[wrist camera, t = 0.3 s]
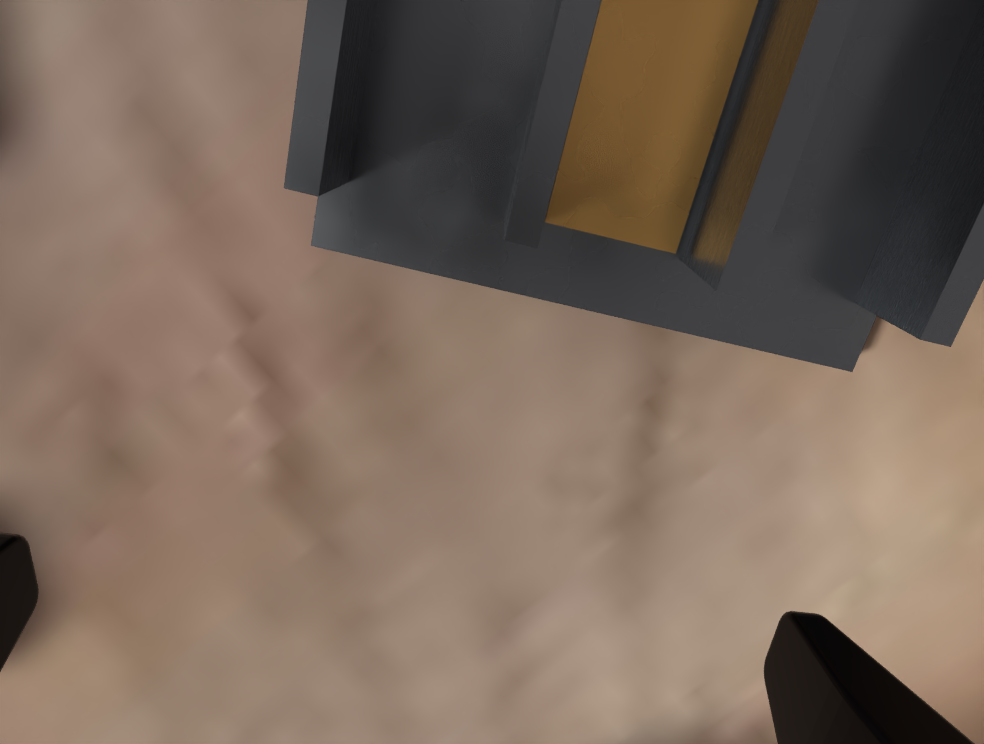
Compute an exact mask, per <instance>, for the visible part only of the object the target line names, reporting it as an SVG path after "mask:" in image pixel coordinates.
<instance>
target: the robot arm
mask: <svg viewBox="0 0 984 744" xmlns="http://www.w3.org/2000/svg"><path fill="white" fill-rule="evenodd" d="M37 599H38V584H37V579H36V574H35V570H34V565H33V561H32V556H31V552H30V547H29V544H28V542H27V540H26V539H25V538H24V537H23V536H20V535H17V534H8V533H0V672H1V670H2V668H3V666H4V664H5V662H6V660H7V659H8V657H9V655H10V653H11V651H12V649H13V648H14V646H15V644H16V642H17V640H18V638H19V637H20V635H21V633H22V631H23V629H24V627H25V626H26V624H27V622H28V620H29V618H30V616H31V615H32V613H33V611H34V609H35V606H36V603H37ZM764 679H765V685H766V690H767V694H768V699H769V704H770V709H771V714H772V718H773V723H774V728H775V733H776V738H777V742H778V744H974V743H973V742H972V741H971V740H970V739H968V738H967V737H966V736H965V735H964V734H962V733H961V732H960V731H959V730H958V729H957V728H955V727H954V726H953V725H952V724H951V723H949V722H948V721H947V720H946V719H945V718H943V717H942V716H941V715H940V714H939V713H938V712H936V711H935V710H934V709H933V708H932V707H930V706H929V705H928V704H927V703H926V702H925V701H923V700H922V699H921V698H920V697H919V696H917V695H916V694H915V693H914V692H913V691H911V690H910V689H909V688H908V687H907V686H906V685H904V684H903V683H902V682H901V681H900V680H898V679H897V678H896V677H895V676H894V675H892V674H891V673H890V672H889V671H888V670H887V669H885V668H884V667H883V666H882V665H881V664H879V663H878V662H877V661H876V660H875V659H874V658H872V657H871V656H870V655H869V654H868V653H866V652H865V651H864V650H863V649H862V648H860V647H859V646H858V645H857V644H856V643H855V642H853V641H852V640H851V639H850V638H849V637H847V636H846V635H845V634H844V633H843V632H841V631H840V630H839V629H838V628H837V627H836V626H834V625H833V624H832V623H831V622H830V621H828V620H827V619H826V618H825V617H823V616H821V615H819V614H815V613H805V612H795V611H790V612H786V613H785V614H784V615H783V616H782V617H781V619H780V621H779V623H778V626H777V629H776V632H775V634H774V637H773V640H772V642H771V645H770V648H769V651H768V653H767V656H766V659H765V664H764Z"/></svg>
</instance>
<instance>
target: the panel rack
mask: <svg viewBox="0 0 984 744" xmlns="http://www.w3.org/2000/svg"><path fill="white" fill-rule="evenodd" d="M284 188H285V189H289V190H293V191H298V192H302V193H306V194H310V195H314V196H318V200H317V207H316V214H315V221H314V228H313V235H312V242H311V246H315V247H319V248H323V249H328V250H332V251H336V252H340V253H345V254H349V255H353V256H358V257H362V258H366V259H370V260H375V261H379V262H383V263H388V264H392V265H396V266H400V267H405V268H409V269H413V270H418V271H422V272H426V273H430V274H435V275H439V276H443V277H448V278H452V279H456V280H460V281H465V282H469V283H473V284H478V285H482V286H486V287H490V288H495V289H499V290H503V291H508V292H512V293H516V294H520V295H525V296H529V297H533V298H538V299H542V300H546V301H550V302H555V303H559V304H563V305H568V306H572V307H576V308H580V309H585V310H589V311H593V312H598V313H602V314H606V315H610V316H615V317H619V318H623V319H628V320H632V321H636V322H640V323H645V324H649V325H653V326H658V327H662V328H666V329H670V330H675V331H679V332H683V333H688V334H692V335H696V336H700V337H705V338H709V339H713V340H718V341H722V342H726V343H730V344H735V345H739V346H743V347H748V348H752V349H756V350H760V351H765V352H769V353H773V354H778V355H782V356H786V357H790V358H795V359H799V360H803V361H808V362H812V363H816V364H820V365H825V366H829V367H833V368H838V369H842V370H846V371H850V372H852V371H853V369H854V367H855V364H856V362H857V360H858V357H859V355H860V353H861V351H862V348H863V346H864V344H865V342H866V339H867V337H868V335H869V332H870V330H871V328H872V326H873V323H874V321H875V319H876V317H877V316H878V317H880V318H882V319H884V320H886V321H887V322H889V323H891V324H893V325H895V326H896V327H898V328H900V329H902V330H904V331H906V332H907V333H909V334H911V335H913V336H915V337H916V338H918V339H920V340H924V341H928V342H932V343H937V344H941V345H945V346H949V347H951V345H952V343H953V341H954V339H955V337H956V335H957V333H958V331H959V329H960V327H961V325H962V323H963V321H964V319H965V317H966V315H967V312H968V310H969V308H970V306H971V304H972V302H973V300H974V298H975V296H976V294H977V292H978V290H979V288H980V286H981V284H982V282H983V280H984V0H308V3H307V11H306V19H305V26H304V34H303V42H302V50H301V58H300V66H299V74H298V81H297V89H296V97H295V105H294V113H293V121H292V128H291V136H290V144H289V152H288V160H287V168H286V176H285V183H284Z"/></svg>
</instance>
